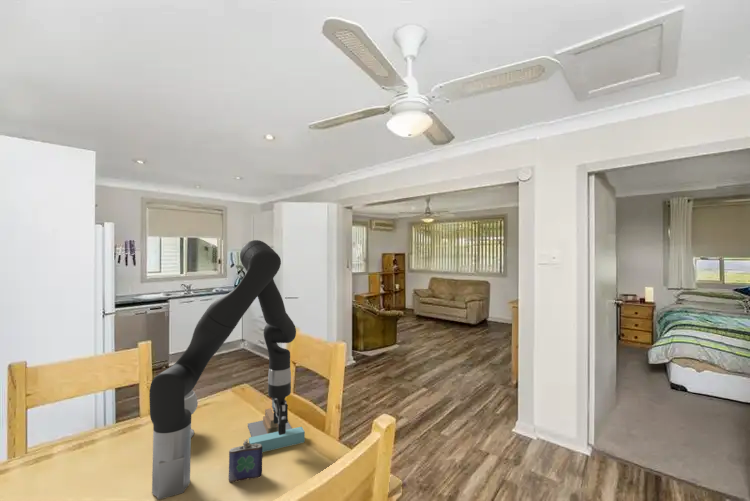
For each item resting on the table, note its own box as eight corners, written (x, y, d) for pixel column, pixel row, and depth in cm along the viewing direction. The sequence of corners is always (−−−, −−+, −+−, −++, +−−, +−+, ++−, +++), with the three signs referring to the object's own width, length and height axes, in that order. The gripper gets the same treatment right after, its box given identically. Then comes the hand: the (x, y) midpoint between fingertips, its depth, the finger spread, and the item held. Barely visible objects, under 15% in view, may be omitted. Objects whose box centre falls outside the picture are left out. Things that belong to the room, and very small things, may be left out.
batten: (304, 443, 122) (304, 431, 122) (250, 455, 114) (250, 443, 114) (301, 437, 126) (301, 426, 126) (248, 449, 117) (248, 437, 118)
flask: (228, 483, 100) (229, 446, 100) (228, 477, 103) (229, 440, 103) (262, 477, 103) (262, 441, 103) (262, 471, 106) (262, 436, 106)
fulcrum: (294, 435, 127) (294, 418, 127) (253, 444, 120) (254, 426, 120) (284, 418, 139) (285, 403, 139) (247, 426, 132) (247, 410, 132)
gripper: (295, 385, 114) (295, 435, 114) (286, 372, 127) (285, 417, 127) (272, 389, 111) (271, 441, 111) (264, 375, 124) (264, 421, 124)
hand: (279, 428), depth 119 cm, fingers open, 8 cm apart
